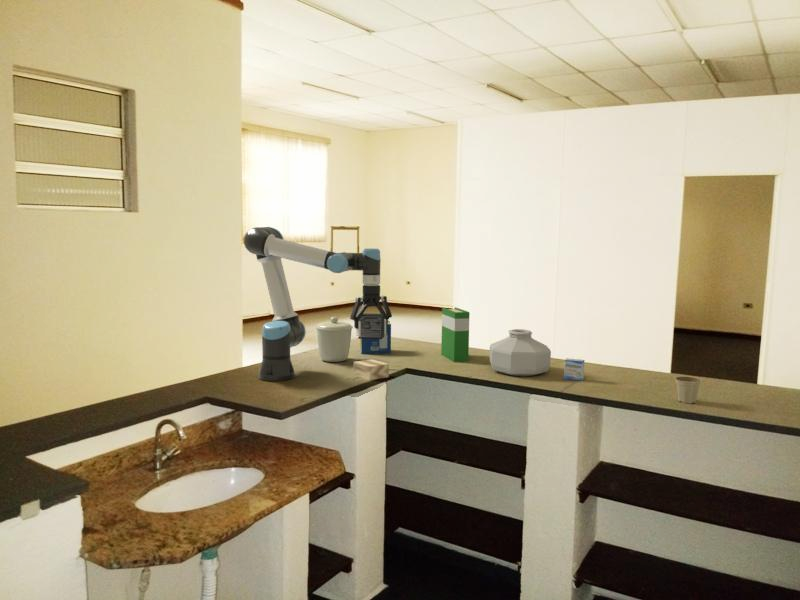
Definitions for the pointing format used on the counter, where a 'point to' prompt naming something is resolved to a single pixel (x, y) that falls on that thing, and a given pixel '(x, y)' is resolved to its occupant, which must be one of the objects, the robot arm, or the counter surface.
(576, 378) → the medicine box
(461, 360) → the hardback book
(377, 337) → the small box
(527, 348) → the pot
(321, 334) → the canister
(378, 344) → the protein box
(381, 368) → the oak block
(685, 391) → the flower pot
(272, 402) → the counter surface
